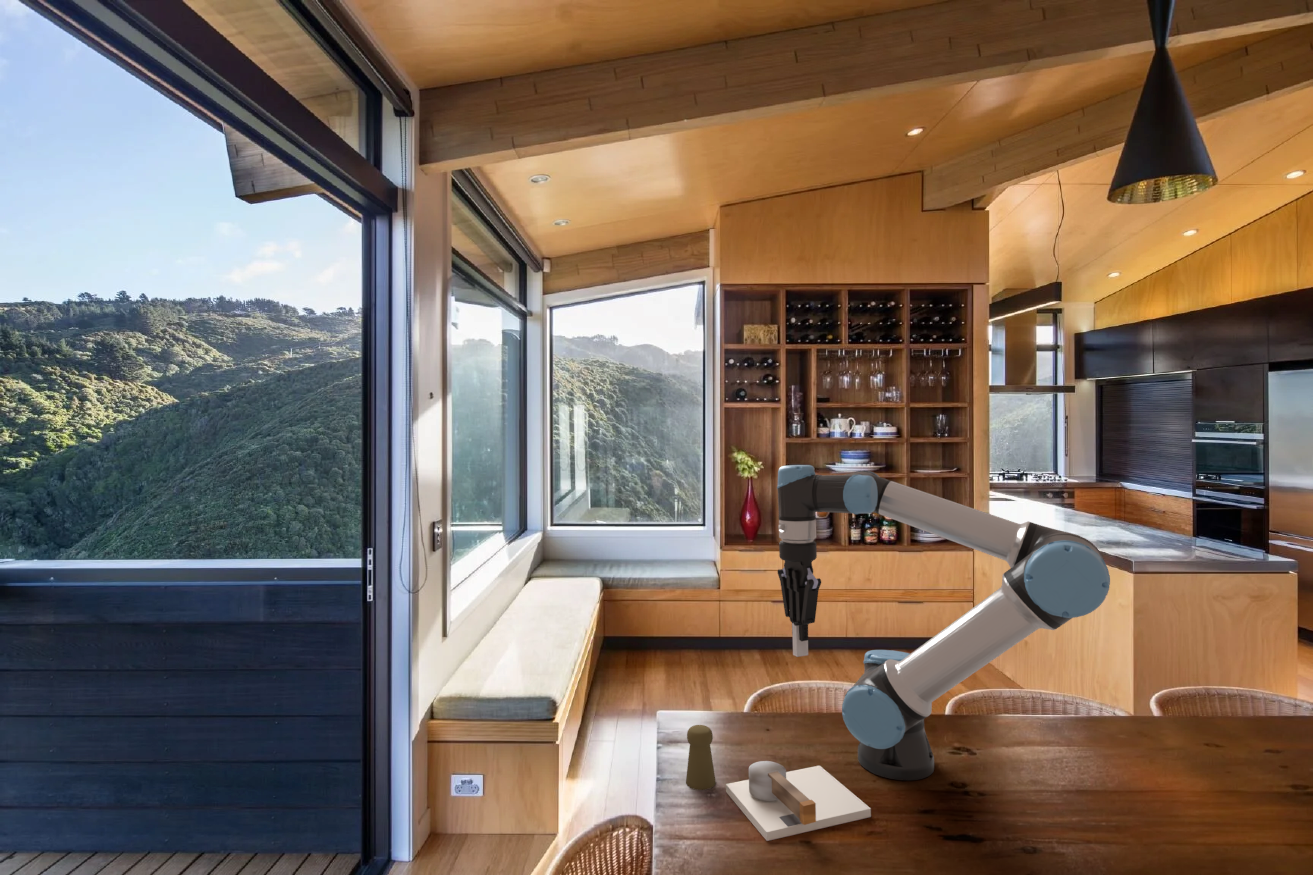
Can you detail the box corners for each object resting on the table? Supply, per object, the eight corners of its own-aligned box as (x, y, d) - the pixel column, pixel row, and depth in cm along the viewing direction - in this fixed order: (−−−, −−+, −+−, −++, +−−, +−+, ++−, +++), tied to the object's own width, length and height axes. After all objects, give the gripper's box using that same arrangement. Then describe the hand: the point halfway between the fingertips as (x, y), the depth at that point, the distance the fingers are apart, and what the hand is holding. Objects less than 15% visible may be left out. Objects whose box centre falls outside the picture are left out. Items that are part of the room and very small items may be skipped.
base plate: (819, 772, 137) (819, 764, 137) (870, 816, 121) (870, 807, 121) (725, 791, 130) (725, 783, 130) (766, 840, 114) (766, 831, 114)
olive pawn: (714, 791, 131) (712, 734, 131) (683, 788, 132) (682, 732, 132) (717, 775, 136) (716, 721, 136) (688, 773, 138) (687, 720, 138)
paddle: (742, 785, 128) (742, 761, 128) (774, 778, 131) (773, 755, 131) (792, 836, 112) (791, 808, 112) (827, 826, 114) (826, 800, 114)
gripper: (765, 537, 142) (768, 648, 142) (799, 545, 130) (802, 667, 129) (796, 534, 144) (799, 643, 144) (831, 542, 132) (835, 661, 132)
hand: (800, 654), depth 137 cm, fingers closed
